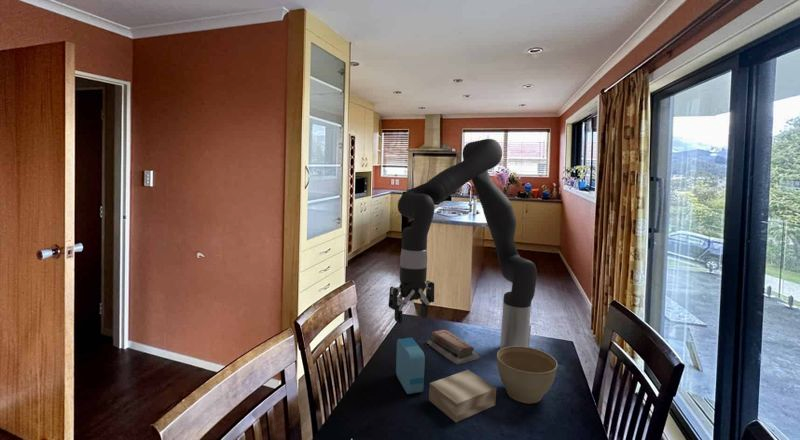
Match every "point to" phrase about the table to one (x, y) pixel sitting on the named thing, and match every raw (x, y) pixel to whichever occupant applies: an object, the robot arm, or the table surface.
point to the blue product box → (410, 365)
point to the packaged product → (452, 347)
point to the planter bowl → (526, 372)
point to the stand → (462, 395)
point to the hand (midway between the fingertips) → (411, 319)
